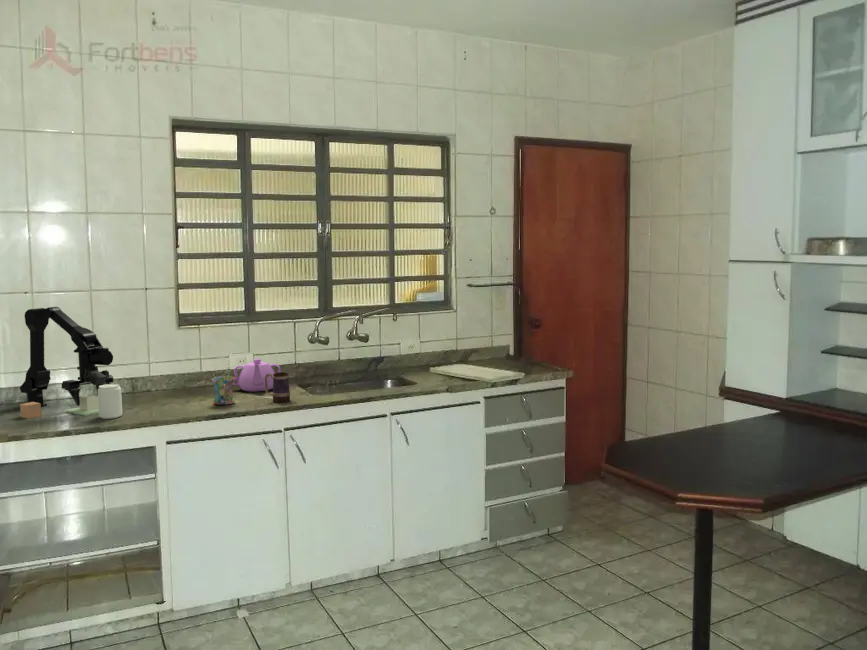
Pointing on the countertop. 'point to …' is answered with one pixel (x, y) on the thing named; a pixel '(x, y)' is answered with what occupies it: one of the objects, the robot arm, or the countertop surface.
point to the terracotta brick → (30, 410)
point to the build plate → (82, 411)
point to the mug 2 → (279, 387)
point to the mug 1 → (223, 390)
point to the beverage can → (109, 401)
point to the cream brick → (89, 402)
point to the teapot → (255, 376)
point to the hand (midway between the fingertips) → (89, 403)
